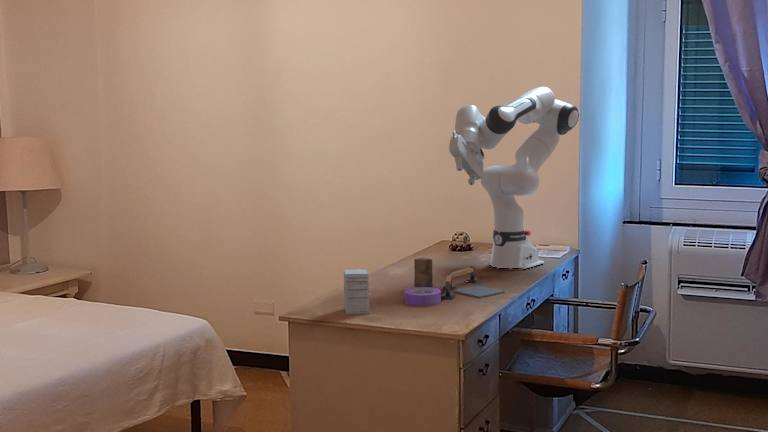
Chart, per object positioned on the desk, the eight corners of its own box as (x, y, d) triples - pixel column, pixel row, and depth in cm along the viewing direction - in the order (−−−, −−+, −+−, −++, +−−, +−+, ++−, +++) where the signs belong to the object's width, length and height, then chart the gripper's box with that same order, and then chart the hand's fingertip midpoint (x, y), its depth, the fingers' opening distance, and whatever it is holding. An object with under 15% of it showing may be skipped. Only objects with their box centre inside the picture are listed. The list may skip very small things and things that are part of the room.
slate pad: (478, 287, 313) (478, 285, 313) (504, 292, 304) (504, 291, 304) (453, 292, 306) (453, 290, 305) (479, 298, 296) (479, 296, 296)
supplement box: (344, 308, 284) (343, 269, 282) (367, 308, 284) (367, 268, 283) (345, 314, 276) (344, 273, 275) (369, 313, 277) (368, 273, 275)
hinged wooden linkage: (458, 279, 327) (458, 264, 326) (478, 280, 324) (478, 265, 323) (429, 297, 298) (429, 281, 297) (451, 299, 295) (451, 283, 294)
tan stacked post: (422, 285, 317) (422, 257, 316) (432, 287, 314) (432, 258, 313) (414, 287, 314) (414, 259, 313) (424, 289, 311) (424, 260, 310)
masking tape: (429, 308, 285) (429, 296, 284) (397, 303, 291) (397, 292, 290) (447, 300, 294) (447, 289, 294) (415, 296, 301) (415, 285, 300)
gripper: (461, 126, 312) (460, 158, 304) (486, 158, 326) (485, 189, 319) (445, 130, 315) (443, 162, 307) (470, 162, 329) (469, 193, 322)
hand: (465, 176), depth 313 cm, fingers open, 8 cm apart
